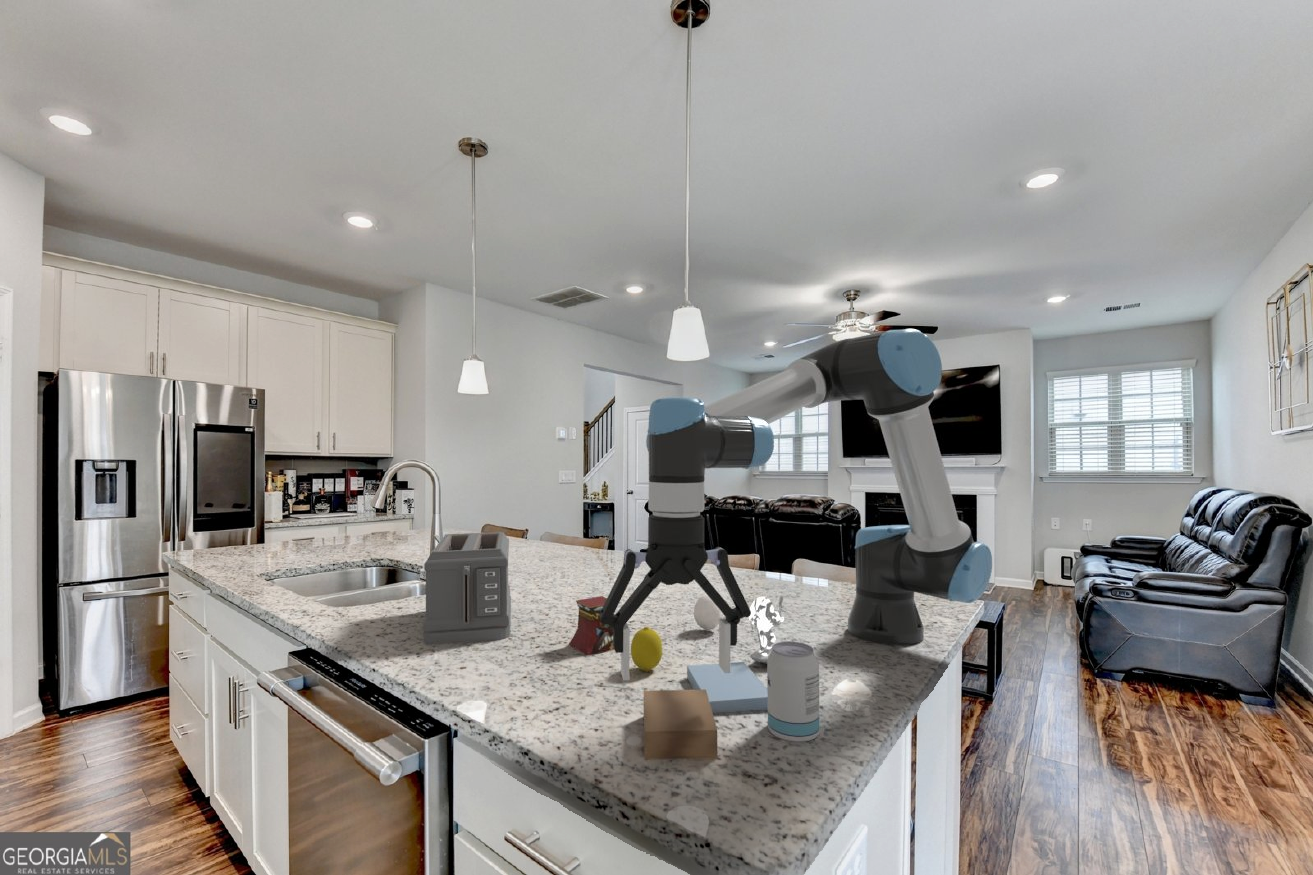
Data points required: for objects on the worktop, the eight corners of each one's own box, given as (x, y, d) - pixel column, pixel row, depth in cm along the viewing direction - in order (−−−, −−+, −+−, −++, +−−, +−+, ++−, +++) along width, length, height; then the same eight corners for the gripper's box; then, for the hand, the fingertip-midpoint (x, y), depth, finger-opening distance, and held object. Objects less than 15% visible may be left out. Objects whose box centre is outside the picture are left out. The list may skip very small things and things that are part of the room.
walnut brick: (706, 724, 84) (705, 689, 84) (717, 770, 72) (717, 730, 72) (643, 725, 84) (643, 690, 84) (644, 772, 72) (644, 731, 72)
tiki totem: (587, 658, 110) (587, 609, 110) (567, 646, 117) (566, 600, 117) (626, 649, 115) (626, 602, 115) (604, 637, 122) (604, 593, 122)
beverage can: (775, 720, 85) (774, 637, 85) (823, 730, 82) (823, 644, 82) (761, 742, 79) (761, 652, 79) (814, 754, 76) (813, 660, 76)
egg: (688, 630, 126) (688, 594, 126) (702, 623, 131) (702, 589, 131) (713, 635, 122) (713, 599, 122) (727, 627, 127) (726, 592, 127)
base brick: (743, 679, 101) (743, 661, 101) (773, 716, 87) (773, 696, 87) (687, 683, 99) (687, 665, 99) (708, 722, 85) (708, 701, 85)
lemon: (647, 664, 107) (646, 620, 107) (668, 672, 103) (668, 626, 103) (624, 672, 103) (624, 626, 103) (646, 681, 99) (645, 634, 99)
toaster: (419, 652, 114) (419, 556, 114) (439, 608, 144) (439, 533, 144) (510, 644, 118) (509, 552, 118) (511, 603, 148) (510, 530, 148)
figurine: (772, 674, 101) (771, 605, 102) (739, 667, 105) (738, 600, 105) (792, 658, 109) (791, 593, 109) (761, 651, 113) (760, 589, 113)
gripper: (755, 509, 85) (754, 657, 84) (581, 511, 80) (580, 668, 80) (774, 515, 77) (774, 677, 77) (584, 518, 73) (583, 691, 72)
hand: (675, 673), depth 78 cm, fingers open, 13 cm apart
